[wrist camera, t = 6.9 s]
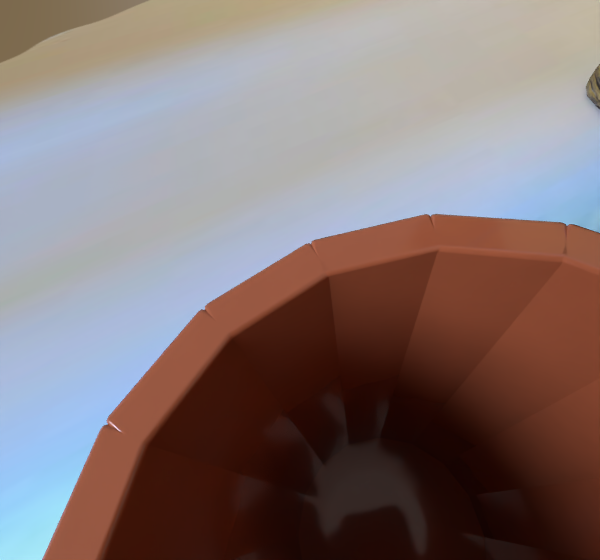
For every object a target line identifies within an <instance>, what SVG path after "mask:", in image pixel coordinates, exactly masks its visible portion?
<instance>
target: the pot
mask: <svg viewBox="0 0 600 560" xmlns="http://www.w3.org/2000/svg"><path fill="white" fill-rule="evenodd" d="M107 423H108V425H104V426H103V427H102V428H101V429H100V431H99V434H98V436H97V438H96V440H95V443H94V445H93V447H92V449H91V452H90V454H89V456H88V458H87V461H86V463H85V465H84V467H83V470H82V472H81V474H80V476H79V478H78V481H77V483H76V485H75V487H74V490H73V492H72V494H71V496H70V499H69V501H68V503H67V505H66V508H65V510H64V512H63V514H62V517H61V519H60V521H59V523H58V525H57V528H56V530H55V532H54V534H53V537H52V539H51V541H50V543H49V546H48V548H47V550H46V552H45V555H44V557H43V559H42V560H600V233H598V232H595V231H592V230H589V229H586V228H583V227H580V226H577V225H574V224H569V225H568V226H566V224H564V223H562V222H547V221H532V220H517V219H502V218H487V217H472V216H457V215H442V214H434V215H431V217H430V216H429V215H427V214H425V215H420V216H416V217H412V218H407V219H403V220H399V221H394V222H390V223H386V224H381V225H377V226H373V227H368V228H364V229H360V230H355V231H351V232H347V233H342V234H338V235H334V236H329V237H325V238H321V239H316V240H314V241H312V243H311V244H309V243H308V244H305V245H303V246H302V247H300V248H298V249H297V250H295V251H293V252H292V253H290V254H289V255H287V256H285V257H284V258H282V259H280V260H279V261H277V262H275V263H274V264H272V265H270V266H269V267H267V268H266V269H264V270H262V271H261V272H259V273H257V274H256V275H254V276H252V277H251V278H249V279H247V280H246V281H244V282H243V283H241V284H239V285H238V286H236V287H234V288H233V289H231V290H229V291H228V292H226V293H224V294H223V295H221V296H220V297H218V298H216V299H215V300H213V301H211V302H210V303H208V304H207V305H206V306H205V310H202V309H201V310H200V311H198V313H197V314H196V315H195V316H194V317H193V318H192V320H191V321H190V322H189V323H188V324H187V325H186V327H185V328H184V329H183V330H182V331H181V332H180V334H179V335H178V336H177V337H176V338H175V339H174V341H173V342H172V343H171V344H170V345H169V346H168V348H167V349H166V350H165V351H164V352H163V353H162V355H161V356H160V357H159V358H158V359H157V361H156V362H155V363H154V364H153V365H152V366H151V368H150V369H149V370H148V371H147V372H146V373H145V375H144V376H143V377H142V378H141V379H140V380H139V382H138V383H137V384H136V385H135V386H134V387H133V389H132V390H131V391H130V392H129V393H128V394H127V396H126V397H125V398H124V399H123V400H122V401H121V403H120V404H119V405H118V406H117V407H116V408H115V410H114V411H113V412H112V413H111V414H110V415H109V417H108V419H107Z"/></svg>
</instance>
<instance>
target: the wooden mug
mask: <svg viewBox="0 0 600 560" xmlns="http://www.w3.org/2000/svg"><path fill="white" fill-rule="evenodd" d="M586 90H587V96H588V97H589V98H590V99H591V100H592V101H593V103H594V104H595V105H596V106H597V107H598V108H599V109H600V64H599V66H598V67H597V69H596V70H595V71H594V73H593V74H592V76H591V77H590V79H589V81H588V84H587V86H586Z"/></svg>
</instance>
